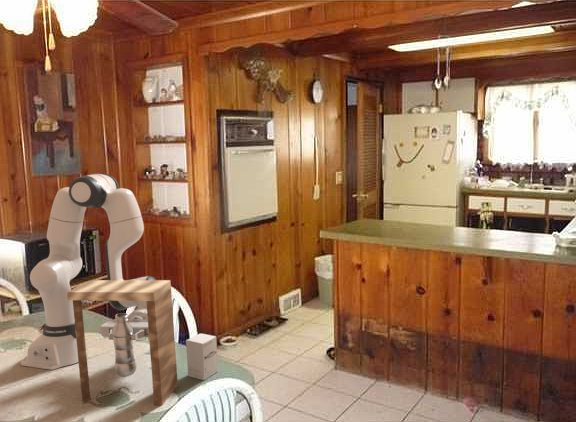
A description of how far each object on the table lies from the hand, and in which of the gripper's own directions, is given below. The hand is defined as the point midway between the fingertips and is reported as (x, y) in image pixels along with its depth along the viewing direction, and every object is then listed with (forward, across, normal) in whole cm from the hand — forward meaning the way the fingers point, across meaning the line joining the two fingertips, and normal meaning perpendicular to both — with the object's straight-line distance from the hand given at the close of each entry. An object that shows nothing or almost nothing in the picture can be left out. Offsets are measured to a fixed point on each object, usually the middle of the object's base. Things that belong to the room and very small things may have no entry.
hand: (121, 337), depth 161 cm
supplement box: (-11, +22, +17) cm, 30 cm away
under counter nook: (+3, +2, +17) cm, 17 cm away
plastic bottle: (-1, 0, +13) cm, 13 cm away
